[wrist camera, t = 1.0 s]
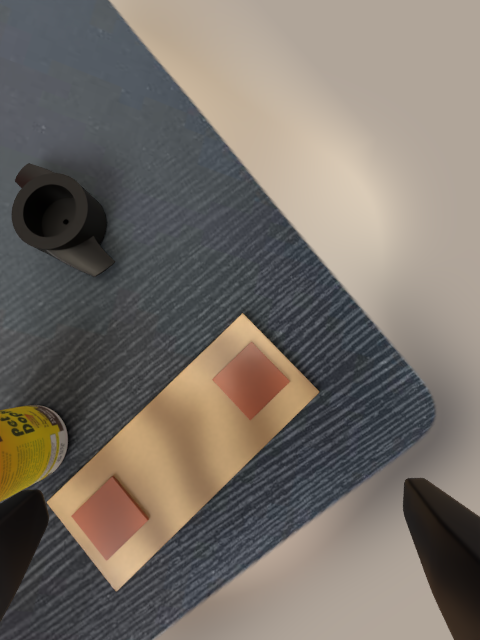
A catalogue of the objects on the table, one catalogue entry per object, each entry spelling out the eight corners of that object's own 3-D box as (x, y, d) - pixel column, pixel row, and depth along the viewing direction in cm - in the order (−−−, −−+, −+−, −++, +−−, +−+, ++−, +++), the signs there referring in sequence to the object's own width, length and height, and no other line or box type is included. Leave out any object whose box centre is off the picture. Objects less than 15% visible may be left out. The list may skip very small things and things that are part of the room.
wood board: (118, 588, 24) (114, 595, 23) (49, 500, 25) (43, 504, 24) (319, 391, 24) (320, 392, 23) (242, 313, 25) (242, 312, 25)
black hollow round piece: (113, 162, 28) (95, 139, 25) (122, 278, 26) (105, 269, 23) (24, 176, 28) (-3, 156, 25) (30, 292, 27) (1, 284, 24)
